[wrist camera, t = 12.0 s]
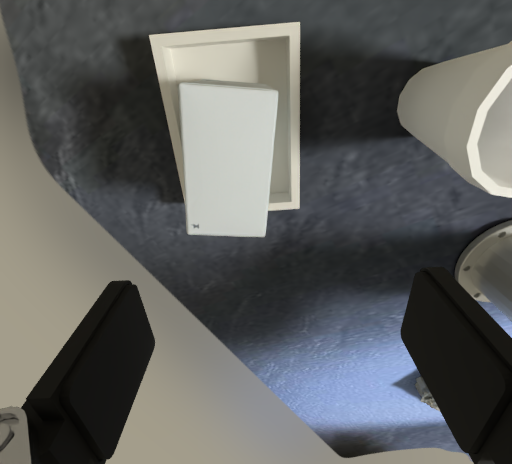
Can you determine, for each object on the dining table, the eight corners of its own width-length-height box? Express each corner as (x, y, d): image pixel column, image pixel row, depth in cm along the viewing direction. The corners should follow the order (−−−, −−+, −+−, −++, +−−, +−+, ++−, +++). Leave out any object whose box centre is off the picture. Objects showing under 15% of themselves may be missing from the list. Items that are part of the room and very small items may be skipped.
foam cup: (383, 160, 31) (461, 213, 19) (376, 64, 26) (472, 60, 15) (477, 134, 29) (619, 174, 18) (487, 28, 25) (682, -6, 14)
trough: (294, 27, 25) (300, 21, 22) (294, 195, 32) (299, 208, 29) (161, 39, 25) (148, 35, 22) (193, 202, 33) (187, 216, 30)
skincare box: (262, 190, 31) (266, 240, 22) (203, 187, 31) (182, 236, 22) (271, 82, 26) (281, 89, 17) (200, 77, 26) (171, 81, 17)
